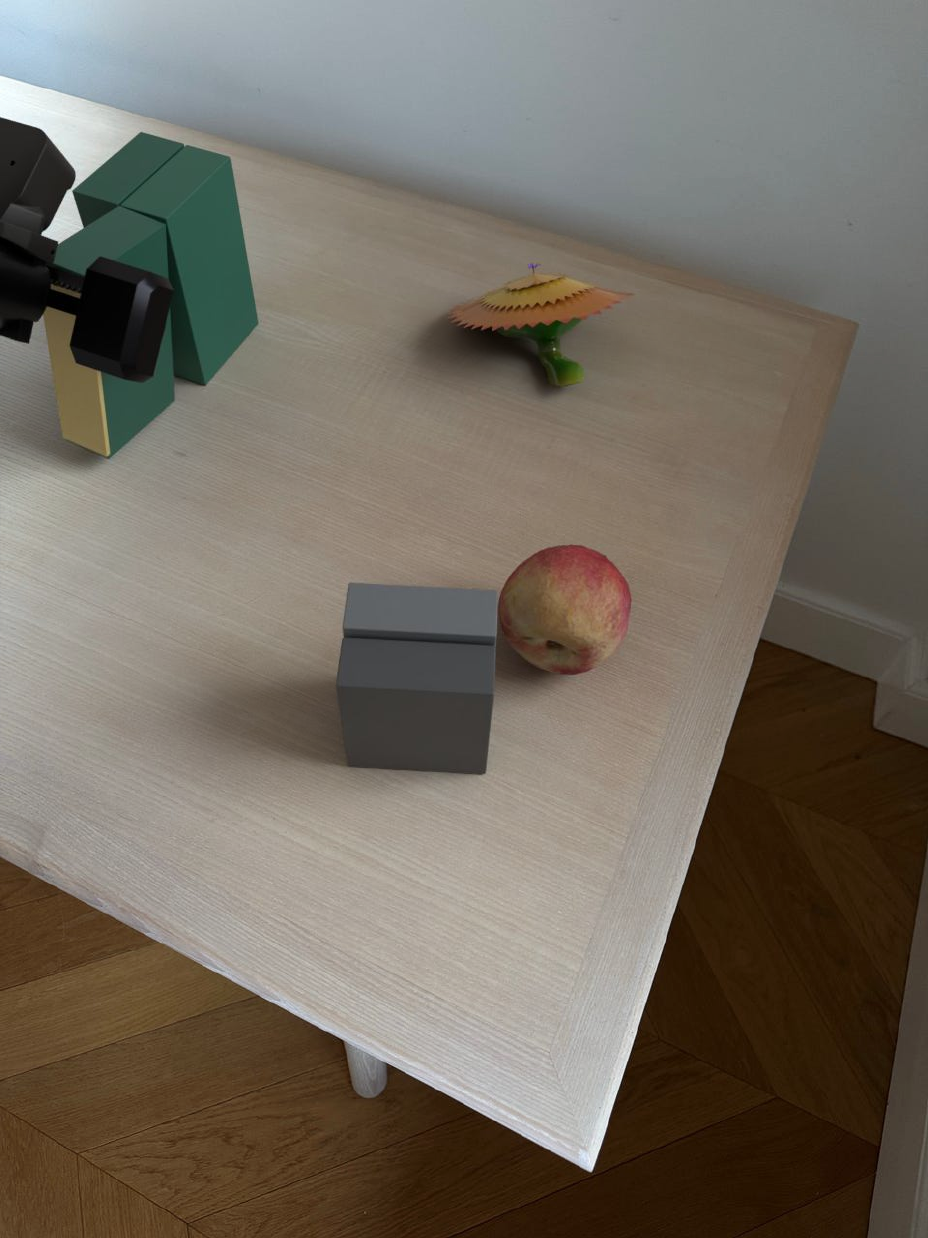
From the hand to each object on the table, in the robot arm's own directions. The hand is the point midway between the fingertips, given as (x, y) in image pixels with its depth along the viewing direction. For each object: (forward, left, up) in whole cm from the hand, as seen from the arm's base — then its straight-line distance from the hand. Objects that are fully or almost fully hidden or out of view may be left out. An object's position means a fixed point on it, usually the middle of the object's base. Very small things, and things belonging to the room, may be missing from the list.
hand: (103, 311), depth 67 cm
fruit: (+23, -29, -9) cm, 38 cm away
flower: (+31, -1, -9) cm, 32 cm away
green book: (-1, -2, -8) cm, 8 cm away
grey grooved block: (+13, -32, -8) cm, 35 cm away
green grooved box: (+5, +6, -8) cm, 12 cm away
